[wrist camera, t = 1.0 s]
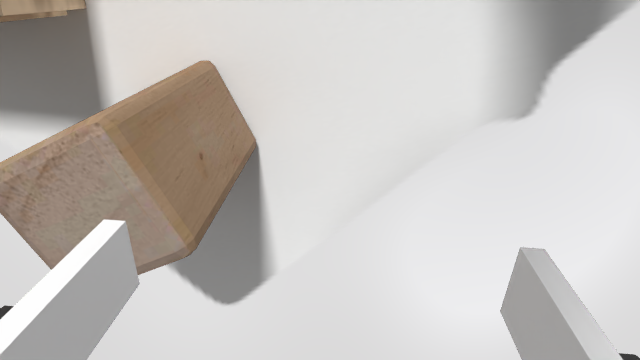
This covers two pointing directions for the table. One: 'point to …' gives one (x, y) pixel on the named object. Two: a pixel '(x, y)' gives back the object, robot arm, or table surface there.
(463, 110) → the table surface
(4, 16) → the carton
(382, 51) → the table surface
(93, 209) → the wooden block
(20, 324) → the robot arm
